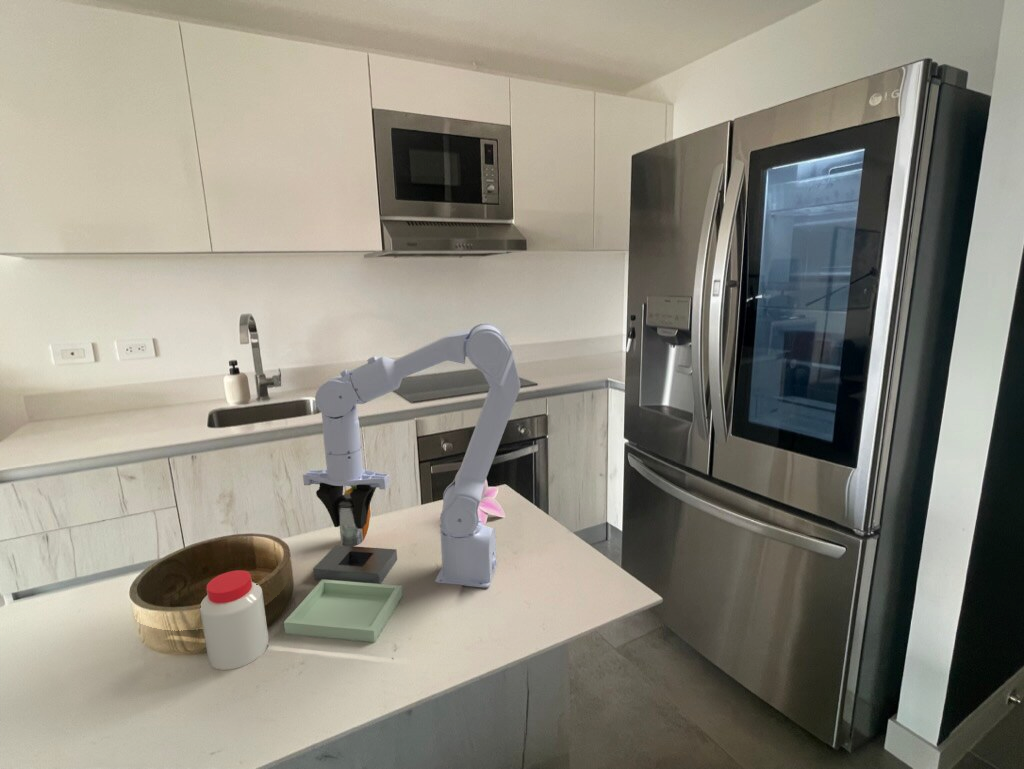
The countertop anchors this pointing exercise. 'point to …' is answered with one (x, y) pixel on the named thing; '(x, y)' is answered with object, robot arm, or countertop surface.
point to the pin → (348, 522)
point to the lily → (489, 503)
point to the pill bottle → (234, 620)
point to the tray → (344, 611)
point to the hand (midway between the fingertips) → (350, 525)
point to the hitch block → (356, 564)
